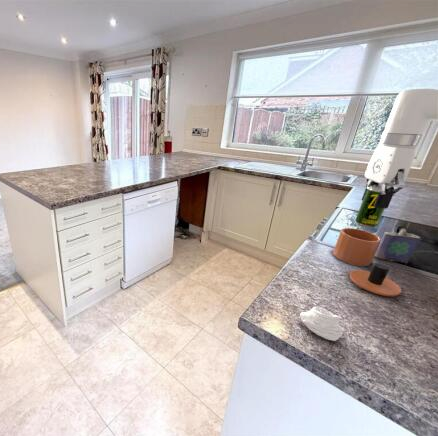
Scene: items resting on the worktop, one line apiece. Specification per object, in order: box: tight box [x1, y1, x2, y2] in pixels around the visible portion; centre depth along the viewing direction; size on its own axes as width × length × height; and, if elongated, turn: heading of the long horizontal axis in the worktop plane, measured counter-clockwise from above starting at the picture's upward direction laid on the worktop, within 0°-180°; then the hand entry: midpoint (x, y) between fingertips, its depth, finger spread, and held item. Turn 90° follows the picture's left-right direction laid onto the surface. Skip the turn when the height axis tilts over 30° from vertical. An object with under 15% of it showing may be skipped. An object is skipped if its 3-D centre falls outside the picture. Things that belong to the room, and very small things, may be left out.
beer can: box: [354, 184, 391, 229], centre depth 73 cm, size 5×5×12 cm
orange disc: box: [349, 262, 402, 297], centre depth 66 cm, size 11×11×6 cm
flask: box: [374, 228, 422, 264], centre depth 78 cm, size 9×3×11 cm, turn 74°
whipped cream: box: [299, 306, 346, 342], centre depth 53 cm, size 8×7×5 cm
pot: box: [333, 227, 382, 267], centre depth 79 cm, size 10×10×8 cm
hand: (373, 203), depth 73 cm, fingers closed on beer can, 5 cm apart
